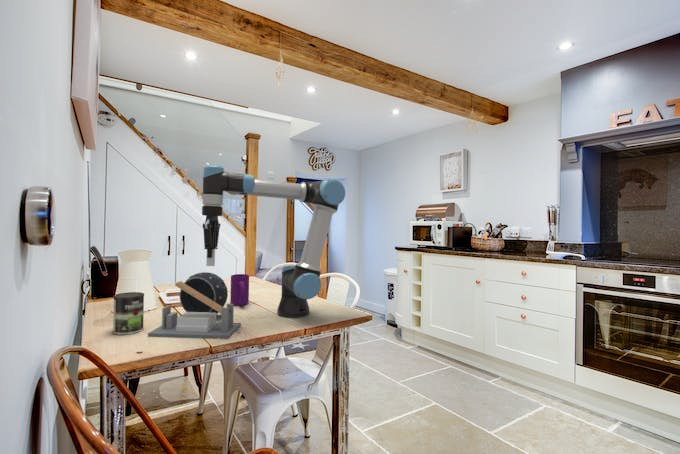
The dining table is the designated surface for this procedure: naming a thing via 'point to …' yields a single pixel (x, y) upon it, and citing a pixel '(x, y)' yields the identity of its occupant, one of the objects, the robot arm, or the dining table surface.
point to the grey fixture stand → (196, 324)
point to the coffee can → (128, 313)
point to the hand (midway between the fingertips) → (210, 265)
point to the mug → (239, 289)
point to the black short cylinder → (204, 292)
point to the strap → (200, 296)
